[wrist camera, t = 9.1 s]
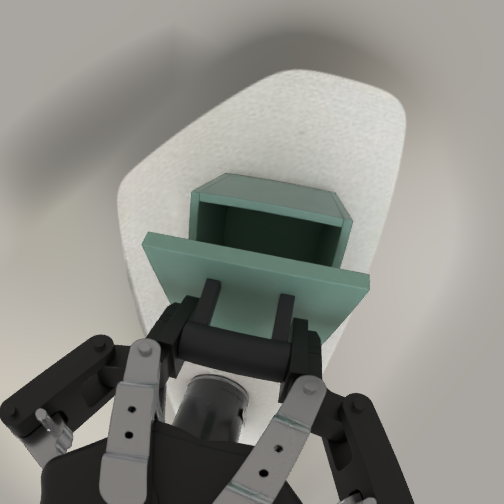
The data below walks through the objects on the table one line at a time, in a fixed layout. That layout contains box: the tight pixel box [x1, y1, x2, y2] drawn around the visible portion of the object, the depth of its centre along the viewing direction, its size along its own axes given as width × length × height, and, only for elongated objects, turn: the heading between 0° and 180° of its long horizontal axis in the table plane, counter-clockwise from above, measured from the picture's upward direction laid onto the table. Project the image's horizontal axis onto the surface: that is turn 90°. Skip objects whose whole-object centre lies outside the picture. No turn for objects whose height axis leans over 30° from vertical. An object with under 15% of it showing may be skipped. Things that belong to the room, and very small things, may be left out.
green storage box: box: [189, 173, 353, 269], centre depth 22 cm, size 10×10×9 cm
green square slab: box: [142, 232, 370, 383], centre depth 15 cm, size 11×10×5 cm
